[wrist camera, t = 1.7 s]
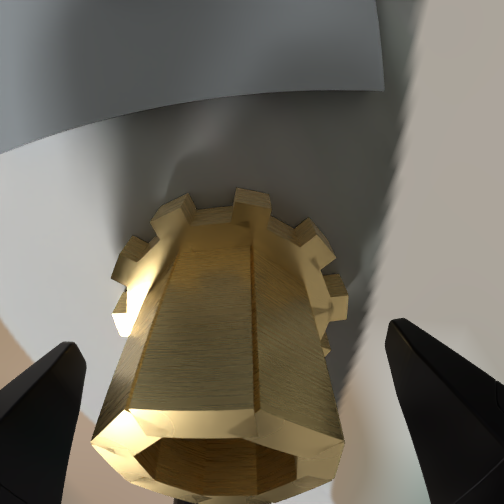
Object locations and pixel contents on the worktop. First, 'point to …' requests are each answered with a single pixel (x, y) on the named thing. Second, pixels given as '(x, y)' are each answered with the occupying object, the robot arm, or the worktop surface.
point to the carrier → (172, 56)
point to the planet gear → (224, 357)
